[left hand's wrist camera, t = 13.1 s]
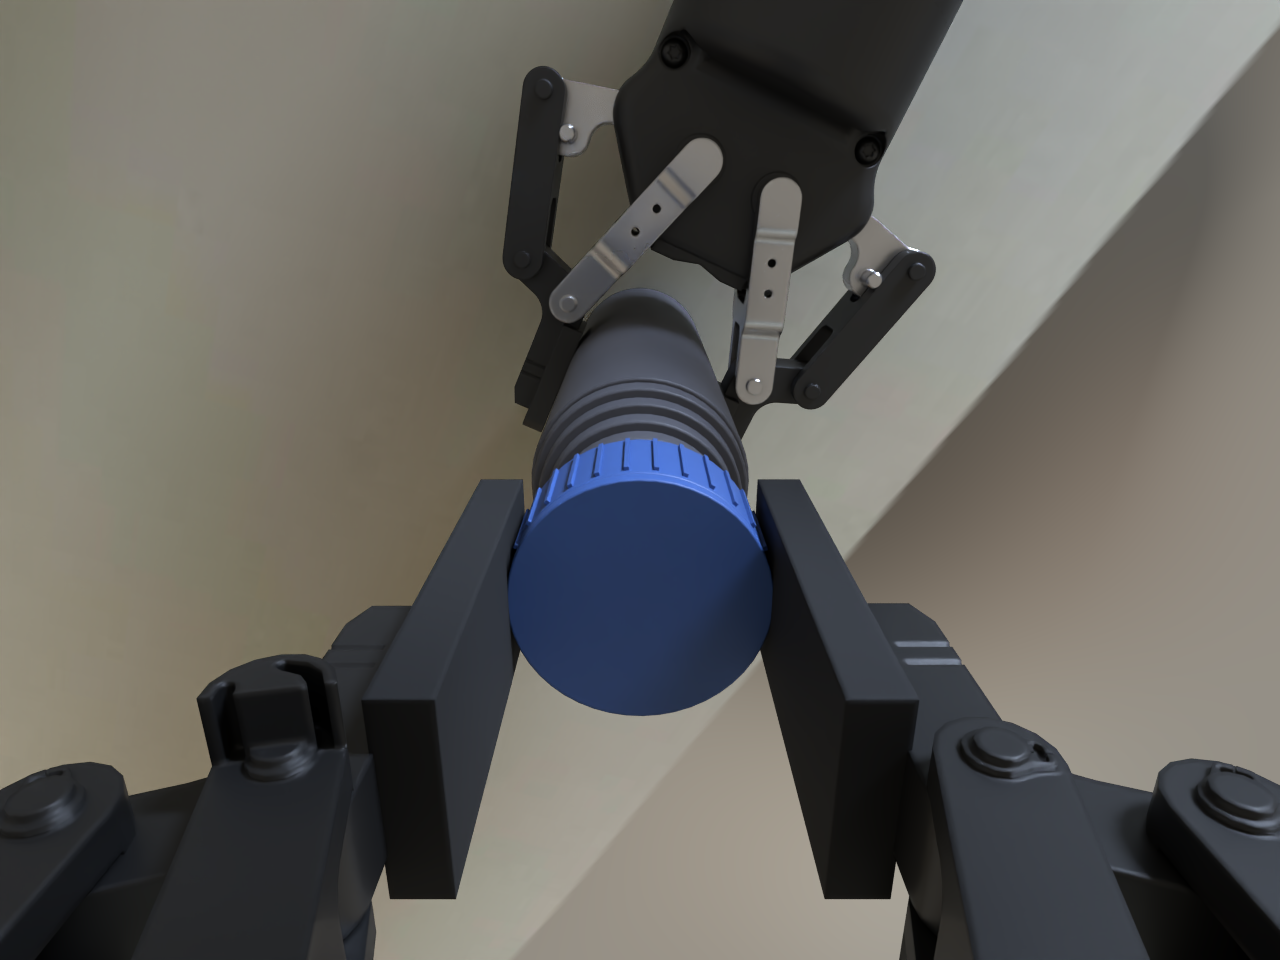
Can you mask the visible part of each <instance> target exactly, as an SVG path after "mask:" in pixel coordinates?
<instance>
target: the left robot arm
mask: <svg viewBox="0 0 1280 960" xmlns="http://www.w3.org/2000/svg"><path fill="white" fill-rule="evenodd" d="M524 515H525V511H524V493H523V480H480V482H479V484H478V486H477V488H476V489H475V491H474V493H473V495H472V497H471V499H470V501H469V502H468V504H467V506H466V508H465V510H464V512H463V513H462V515H461V517H460V519H459V521H458V523H457V524H456V526H455V528H454V530H453V532H452V534H451V535H450V537H449V539H448V541H447V543H446V545H445V546H444V548H443V550H442V552H441V554H440V556H439V557H438V559H437V561H436V563H435V565H434V567H433V569H432V570H431V572H430V574H429V576H428V578H427V580H426V581H425V583H424V585H423V587H422V589H421V591H420V592H419V594H418V596H417V598H416V600H415V602H414V603H413V605H412V606H371V607H370V608H368V609H367V610H366V611H364V612H363V613H361V614H360V615H358V616H357V617H355V618H354V619H353V620H351V621H350V622H348V623H347V624H346V625H345V626H344V628H343V629H342V631H341V632H340V634H339V635H338V637H337V638H336V640H335V641H334V643H333V644H332V648H331V650H328V651H327V653H326V654H325V656H324V657H323V659H321V658H318V657H314V656H310V655H306V654H286V655H276V656H272V657H267V658H262V659H257V660H253V661H251V662H248V663H246V664H243V665H241V666H238V667H236V668H233V669H231V670H229V671H227V672H226V673H224V674H223V675H221V676H220V677H218V678H217V679H215V680H213V681H212V682H210V683H209V684H208V685H207V687H206V688H205V689H204V690H203V691H202V693H201V694H200V695H199V696H198V697H197V703H198V707H199V711H200V716H201V720H202V724H203V729H204V733H205V737H206V742H207V746H208V750H209V755H210V759H211V763H212V768H211V770H210V772H209V775H208V777H207V778H204V779H200V780H197V781H193V782H189V783H186V784H181V785H177V786H172V787H167V788H163V789H158V790H153V791H149V792H144V793H139V794H135V795H130V796H128V792H127V789H126V785H125V781H124V778H123V775H122V774H120V773H119V772H118V771H117V770H116V769H115V768H113V767H112V766H111V765H105V764H99V763H94V762H85V763H75V764H66V765H61V766H57V767H53V768H49V769H48V770H42V771H40V772H37V773H34V774H31V775H29V776H27V777H25V778H23V779H21V780H19V781H17V782H15V783H13V784H11V785H9V786H7V787H5V788H3V789H1V790H0V960H373V957H374V947H375V938H376V927H375V920H374V913H373V907H372V901H371V899H372V897H373V894H374V891H375V889H376V886H377V883H378V881H379V878H380V875H381V873H382V870H383V868H384V865H385V868H386V875H387V882H388V889H389V896H390V899H456V896H457V892H458V889H459V885H460V881H461V877H462V873H463V869H464V865H465V862H466V858H467V854H468V850H469V846H470V842H471V838H472V834H473V831H474V827H475V823H476V819H477V815H478V811H479V807H480V804H481V800H482V796H483V792H484V788H485V784H486V780H487V776H488V773H489V769H490V765H491V761H492V757H493V753H494V749H495V746H496V742H497V738H498V734H499V730H500V726H501V722H502V718H503V715H504V711H505V707H506V703H507V699H508V695H509V691H510V688H511V684H512V680H513V676H514V672H515V668H516V664H517V660H518V657H519V653H520V648H519V646H518V644H517V642H516V640H515V638H514V635H513V632H512V629H511V626H510V618H509V603H508V575H509V572H510V568H511V565H512V562H513V558H514V555H515V553H516V550H517V549H514V548H513V547H514V544H515V541H516V538H517V535H518V532H519V530H520V527H521V524H522V521H523V518H524ZM756 517H757V520H758V522H759V525H760V528H761V531H762V534H763V537H764V539H765V542H766V545H767V548H768V550H767V551H764V552H765V555H766V558H767V560H768V563H769V566H770V569H771V574H772V579H773V595H772V611H771V623H770V627H769V631H768V634H767V636H766V638H765V641H764V643H763V645H762V647H761V649H760V651H761V655H762V658H763V662H764V666H765V670H766V674H767V678H768V682H769V686H770V689H771V693H772V697H773V701H774V705H775V709H776V713H777V716H778V720H779V724H780V728H781V732H782V736H783V740H784V744H785V747H786V751H787V755H788V759H789V763H790V766H791V771H792V774H793V778H794V782H795V786H796V790H797V794H798V798H799V801H800V805H801V809H802V813H803V817H804V821H805V825H806V829H807V832H808V836H809V840H810V844H811V848H812V852H813V856H814V860H815V863H816V867H817V871H818V875H819V879H820V883H821V887H822V890H823V894H824V898H825V899H891V892H892V885H893V878H894V872H895V864H896V862H897V865H898V867H899V870H900V873H901V875H902V878H903V881H904V883H905V886H906V889H907V891H908V894H909V901H908V907H907V914H906V920H905V926H904V933H903V939H902V945H901V952H900V958H899V960H1280V785H1278V784H1276V783H1274V782H1272V781H1270V780H1268V779H1266V778H1264V777H1261V776H1259V775H1257V774H1255V773H1254V772H1252V771H1249V770H1247V769H1244V768H1241V767H1238V766H1233V765H1231V764H1226V763H1222V762H1219V761H1210V760H1200V759H1186V760H1180V761H1175V762H1170V763H1169V764H1168V765H1167V766H1165V767H1164V768H1163V769H1162V770H1161V771H1160V772H1159V773H1158V777H1157V780H1156V784H1155V787H1154V791H1153V793H1152V792H1148V791H1143V790H1138V789H1134V788H1129V787H1124V786H1120V785H1115V784H1110V783H1106V782H1101V781H1096V780H1093V779H1089V778H1085V777H1082V776H1078V775H1075V774H1072V773H1071V771H1070V769H1069V766H1068V765H1067V763H1066V762H1065V760H1064V759H1063V758H1062V756H1061V755H1060V753H1059V752H1058V751H1057V749H1056V748H1055V747H1053V746H1052V745H1051V744H1049V743H1048V742H1047V741H1045V740H1044V739H1043V738H1041V737H1040V736H1039V735H1037V734H1036V733H1033V732H1031V731H1029V730H1027V729H1025V728H1022V727H1020V726H1018V725H1016V724H1014V723H1010V722H1006V721H1002V720H1001V718H1000V717H999V715H998V714H997V712H996V711H995V709H994V708H993V706H992V705H991V703H990V702H989V700H988V699H987V697H986V696H985V695H984V693H983V692H982V690H981V689H980V687H979V686H978V684H977V683H976V681H975V680H974V678H973V677H972V675H971V674H970V672H969V671H968V669H967V668H966V666H965V665H962V664H961V659H960V658H959V656H958V655H957V653H956V652H955V650H954V649H953V647H950V646H949V641H948V640H947V638H946V637H945V635H944V634H943V633H942V631H941V630H940V628H939V627H938V625H937V624H936V622H935V621H933V620H932V619H931V618H929V617H928V616H926V615H925V614H923V613H922V612H920V611H919V610H917V609H916V608H915V607H913V606H912V605H910V604H909V603H867V602H866V601H865V599H864V597H863V595H862V593H861V591H860V590H859V588H858V586H857V584H856V582H855V580H854V579H853V577H852V575H851V573H850V571H849V569H848V568H847V566H846V564H845V562H844V560H843V558H842V556H841V555H840V553H839V551H838V549H837V547H836V545H835V544H834V542H833V540H832V538H831V536H830V534H829V533H828V531H827V529H826V527H825V525H824V523H823V522H822V520H821V518H820V516H819V514H818V512H817V511H816V509H815V507H814V505H813V503H812V501H811V500H810V498H809V496H808V494H807V492H806V490H805V489H804V487H803V485H802V483H801V481H800V480H758V485H757V503H756Z"/></svg>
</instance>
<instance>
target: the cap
mask: <svg viewBox="0 0 1280 960" xmlns="http://www.w3.org/2000/svg"><path fill="white" fill-rule="evenodd" d="M513 548H514V549H517V550H516V553H515V555H514V558H513V562H512V565H511V568H510V572H509V575H508V603H509V618H510V626H511V629H512V632H513V635H514V638H515V640H516V642H517V644H518V646H519V648H520V650H521V652H522V653H523V655H524V656H525V658H526V659H527V661H528V662H529V664H530V665H531V666H532V667H533V668H534V670H535V671H536V672H537V673H538V674H539V675H540V676H541V677H542V678H543V679H544V680H545V681H546V682H547V683H549V684H550V685H551V686H552V687H554V688H555V689H556V690H558V691H559V692H561V693H562V694H564V695H565V696H567V697H569V698H571V699H573V700H575V701H577V702H578V703H581V704H583V705H586V706H589V707H591V708H594V709H597V710H601V711H605V712H609V713H614V714H621V715H632V716H649V715H661V714H666V713H672V712H676V711H680V710H683V709H686V708H690V707H692V706H695V705H697V704H699V703H702V702H704V701H706V700H708V699H710V698H711V697H713V696H715V695H717V694H718V693H720V692H721V691H723V690H724V689H725V688H727V687H728V686H729V685H731V684H732V683H733V682H734V681H735V680H736V679H737V678H738V677H740V676H741V675H742V674H743V673H744V672H745V670H746V669H747V668H748V667H749V665H750V664H751V663H752V662H753V660H754V659H755V657H756V656H757V654H758V652H759V651H760V649H761V647H762V645H763V643H764V641H765V638H766V636H767V634H768V631H769V627H770V623H771V611H772V595H773V579H772V574H771V569H770V566H769V563H768V560H767V558H766V555H765V552H764V551H767V550H768V548H767V545H766V542H765V539H764V537H763V534H762V531H761V528H760V525H759V522H758V520H757V517H756V514H755V511H752V512H751V509H750V506H749V503H748V500H747V497H746V494H745V492H744V490H743V489H741V490H739V488H738V487H737V486H736V484H735V483H734V482H733V481H732V479H731V478H730V475H729V472H728V471H727V470H725V471H723V470H722V469H720V468H719V467H718V466H717V465H716V464H714V463H713V462H712V461H710V460H709V458H708V456H707V455H705V454H704V455H703V456H702V455H700V454H698V453H696V452H694V451H692V450H690V449H687V448H685V447H684V445H683V444H679V445H675V444H672V443H668V442H662V441H658V440H657V439H656V438H653V440H642V439H636V440H630V438H625V440H623V441H618V442H613V443H608V444H605V445H604V444H603V443H601V444H599V445H598V447H596V448H593V449H590V450H588V451H586V452H584V453H582V454H580V455H579V454H578V453H577V454H576V455H574V458H573V459H572V460H571V461H569V462H568V463H566V464H565V465H563V466H562V467H561V468H560V469H559V470H558V469H557V468H556V469H555V470H554V471H553V473H552V477H551V478H550V479H549V480H548V481H547V482H546V484H545V485H544V486H543V487H542V489H541V488H540V487H539V488H538V489H537V491H536V494H535V497H534V500H533V503H532V506H531V509H530V510H529V509H527V510H526V513H525V515H524V518H523V521H522V524H521V527H520V530H519V532H518V535H517V538H516V541H515V544H514V547H513Z"/></svg>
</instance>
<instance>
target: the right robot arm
mask: <svg viewBox="0 0 1280 960" xmlns="http://www.w3.org/2000/svg"><path fill="white" fill-rule="evenodd" d="M962 2H963V0H674V1H673V4H672V6H671V9H670V11H669V14H668V16H667V19H666V21H665V24H664V26H663V29H662V31H661V34H660V36H659V38H658V41H657V43H656V46H655V48H654V50H653V52H652V54H651V56H650V58H649V59H648V60H647V62H646V63H645V64H644V65H643V67H642V68H641V69H640V70H639V71H638V72H637V73H635V74H634V75H633V76H632V77H630V78H629V79H628V80H627V81H626V82H625V83H624V84H623V85H622V87H621V88H620V90H617V89H612V88H607V87H602V86H597V85H592V84H587V83H582V82H577V81H572V80H567V79H564V78H562V77H561V76H560V75H559V73H558V72H557V71H555V70H554V69H552V68H550V67H547V66H539V67H536V68H534V69H532V70H531V71H530V72H529V73H528V74H527V75H526V77H525V79H524V82H523V89H522V97H521V106H520V114H519V123H518V131H517V139H516V148H515V156H514V165H513V173H512V182H511V190H510V198H509V207H508V215H507V224H506V232H505V241H504V249H503V264H504V267H505V269H506V271H507V272H508V273H509V274H510V275H511V276H513V277H514V278H517V279H519V280H520V281H522V282H523V283H524V284H525V285H526V286H527V287H528V288H529V289H530V290H531V291H532V292H533V293H534V294H535V295H536V296H537V297H538V299H539V301H540V303H541V306H542V319H541V322H540V325H539V327H538V330H537V332H536V335H535V337H534V340H533V342H532V345H531V347H530V350H529V352H528V355H527V357H526V360H525V362H524V365H523V367H522V370H521V372H520V375H519V377H518V380H517V382H516V385H515V403H517V404H519V405H522V406H524V407H526V408H529V409H528V412H527V414H526V416H525V419H524V421H523V425H525V426H528V427H530V428H532V429H535V430H537V431H539V432H542V430H543V428H544V425H545V423H546V420H547V418H548V416H549V413H550V411H551V409H552V406H553V404H554V401H555V399H556V397H557V394H558V392H559V390H560V387H561V385H562V382H563V380H564V377H565V375H566V372H567V370H568V367H569V365H570V362H571V360H572V358H573V356H574V354H575V352H576V349H577V347H578V345H579V342H580V340H581V337H582V335H583V333H584V330H585V327H586V325H587V322H585V321H583V318H584V316H585V314H586V313H587V312H588V311H589V310H590V309H591V308H592V306H593V305H594V304H595V303H596V302H597V301H598V300H599V299H600V298H601V297H602V296H603V295H604V294H605V293H606V292H607V290H608V289H609V288H610V287H611V286H612V285H613V284H614V283H615V282H616V281H617V280H618V279H619V278H620V277H621V276H622V275H623V274H624V273H625V272H626V271H627V270H628V269H629V268H630V267H631V266H632V265H633V264H634V263H635V262H636V261H637V260H638V259H639V258H640V257H641V256H642V255H643V253H644V252H645V251H646V250H647V249H648V248H649V247H651V250H653V251H655V252H657V253H660V254H662V255H664V256H666V257H668V258H670V259H673V260H677V261H683V262H689V263H695V264H699V265H701V266H702V267H703V268H705V269H706V270H707V271H708V272H709V273H710V274H712V275H713V276H714V277H715V278H716V279H717V280H719V281H720V282H722V283H724V284H726V285H728V286H731V287H733V288H735V292H734V301H733V327H732V336H731V345H730V355H729V364H728V370H727V372H726V374H725V376H724V378H723V380H722V383H720V382H718V381H717V382H718V384H719V387H720V389H721V392H722V394H723V397H724V399H725V402H726V404H727V407H728V409H729V412H730V414H731V417H732V419H733V422H734V424H735V427H736V429H737V432H738V434H739V437H740V439H742V437H743V435H744V433H745V431H746V429H747V427H748V425H749V423H750V422H751V420H752V418H753V416H754V414H755V413H756V411H757V410H758V409H760V408H761V407H762V406H764V405H766V404H769V403H791V404H798V405H799V406H801V407H802V408H805V409H816V408H819V407H821V406H822V405H824V404H825V403H826V402H827V400H828V399H829V398H830V397H831V396H832V395H833V394H834V392H835V391H836V390H837V389H838V388H839V387H840V386H841V385H842V383H843V382H844V381H845V380H846V379H847V378H848V377H849V375H850V374H851V373H852V372H853V371H854V370H855V369H856V367H857V366H858V365H859V364H860V363H861V362H862V361H863V360H864V358H865V357H866V356H867V355H868V354H869V353H870V352H871V350H872V349H873V348H874V347H875V346H876V345H877V344H878V342H879V341H880V340H881V339H882V338H883V337H884V336H885V335H886V333H887V332H888V331H889V330H890V329H891V328H892V327H893V325H894V324H895V323H896V322H897V321H898V320H899V319H900V317H901V316H902V315H903V314H904V313H905V312H906V311H907V310H908V308H909V307H910V306H911V305H912V304H913V303H914V302H915V300H916V299H917V298H918V297H919V296H920V295H921V294H922V292H923V291H924V290H925V289H926V288H927V287H928V286H929V285H930V283H931V282H932V280H933V279H934V276H935V272H936V267H935V262H934V260H933V259H932V257H931V256H930V255H928V254H927V253H924V252H921V251H919V250H916V249H912V248H909V247H907V246H906V245H905V244H904V243H903V242H902V241H901V240H899V239H898V238H897V237H896V236H895V235H894V234H893V233H892V232H890V231H889V230H888V229H887V228H886V227H885V226H884V225H883V224H881V223H880V222H879V221H878V220H877V219H876V218H875V217H874V216H872V215H871V214H872V211H873V206H874V183H875V177H876V173H877V169H878V166H879V164H880V162H881V160H882V157H883V156H884V154H885V152H886V150H887V148H888V146H889V144H890V142H891V140H892V138H893V137H894V135H895V133H896V131H897V129H898V127H899V125H900V123H901V121H902V119H903V117H904V115H905V113H906V111H907V109H908V107H909V105H910V103H911V101H912V99H913V97H914V96H915V94H916V92H917V90H918V88H919V86H920V84H921V82H922V80H923V78H924V76H925V74H926V72H927V70H928V68H929V66H930V64H931V62H932V60H933V58H934V56H935V55H936V53H937V51H938V49H939V47H940V45H941V43H942V41H943V39H944V37H945V35H946V33H947V31H948V29H949V27H950V25H951V23H952V21H953V19H954V17H955V15H956V13H957V11H958V9H959V7H960V6H961V4H962ZM604 125H614V128H615V133H616V138H617V143H618V148H619V153H620V158H621V163H622V168H623V173H624V178H625V183H626V187H627V192H628V197H629V202H630V206H629V207H628V209H627V210H626V211H625V212H624V213H623V214H622V215H621V216H620V217H619V218H618V219H617V221H616V222H615V223H614V224H613V225H612V226H611V227H610V228H609V229H608V230H607V232H606V233H605V234H604V235H603V236H602V237H601V238H600V239H599V240H598V241H597V243H596V244H595V245H594V246H593V247H592V248H591V249H590V250H589V251H588V252H587V254H586V255H585V256H584V257H583V258H582V259H581V260H580V261H579V262H578V263H577V264H576V266H575V267H574V268H573V269H571V268H570V267H569V266H568V265H567V264H566V263H565V262H564V261H563V260H562V259H561V258H560V257H559V256H558V255H557V254H556V253H555V252H554V251H553V250H551V247H552V239H553V232H554V225H555V218H556V211H557V203H558V196H559V189H560V182H561V175H562V167H563V160H564V156H566V157H576V156H579V155H581V154H582V153H584V152H585V151H586V149H587V148H588V146H589V143H590V140H591V137H592V135H593V133H594V132H595V131H596V130H597V129H598V128H600V127H602V126H604ZM633 228H636V229H637V230H633ZM847 241H848V242H849V244H850V247H851V257H850V260H849V262H848V264H847V265H846V267H845V269H844V272H843V282H844V285H845V287H846V288H847V289H848V291H847V292H846V293H845V295H844V296H843V297H842V298H841V299H840V300H839V302H838V303H837V304H836V305H835V306H834V308H833V309H832V310H831V311H830V312H829V313H828V315H827V316H826V317H825V318H824V319H823V321H822V322H821V323H820V324H819V325H818V326H817V328H816V329H815V330H814V331H813V332H812V334H811V335H810V336H809V337H808V338H807V339H806V341H805V342H804V343H803V344H802V345H801V347H800V348H799V349H798V350H797V351H796V352H795V354H794V355H793V356H792V357H791V358H790V359H780V358H777V351H778V343H779V337H780V334H781V333H782V330H783V326H784V320H785V313H786V305H787V298H788V290H789V282H790V275H791V273H793V272H794V271H796V270H798V269H800V268H801V267H803V266H805V265H807V264H808V263H810V262H812V261H814V260H815V259H817V258H819V257H821V256H822V255H824V254H826V253H828V252H829V251H831V250H833V249H835V248H836V247H838V246H840V245H842V244H843V243H845V242H847Z"/></svg>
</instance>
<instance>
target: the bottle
mask: <svg viewBox="0 0 1280 960" xmlns="http://www.w3.org/2000/svg"><path fill="white" fill-rule="evenodd" d="M625 438H630V440H636V439H642V440H653V438H656V439H657V440H658V441H662V442H668V443H672V444H675V445H679V444H683V445H684V447H685V448H687V449H690V450H692V451H694V452H696V453H698V454H700V455H702V456H703V455H704V454H705V455H707V456H708V458H709V460H710V461H712V462H713V463H714V464H716V465H717V466H718V467H719V468H720V469H722V470H723V471H725V470H727V471H728V472H729V475H730V478H731V479H732V481H733V482H734V483H735V484H736V486H737V487H738V488H739V490H741V489H743V490H744V492H745V494H746V497H747V493H748V482H749V477H748V464H747V459H746V454H745V451H744V448H743V445H742V442H741V439H740V437H739V434H738V432H737V429H736V427H735V424H734V422H733V419H732V417H731V414H730V412H729V409H728V407H727V404H726V402H725V399H724V397H723V394H722V392H721V389H720V387H719V384H718V382H717V379H716V377H715V374H714V372H713V369H712V367H711V364H710V362H709V359H708V357H707V354H706V352H705V349H704V347H703V344H702V342H701V339H700V337H699V334H698V332H697V329H696V327H695V324H694V322H693V320H692V318H691V316H690V315H689V314H688V312H687V311H686V310H685V308H684V307H683V306H682V305H681V304H680V303H678V302H677V301H676V300H675V299H673V298H672V297H670V296H669V295H666V294H664V293H662V292H659V291H656V290H652V289H646V288H635V289H628V290H624V291H621V292H618V293H615V294H614V295H612V296H610V297H608V298H607V299H605V300H604V301H603V302H601V303H600V304H599V305H598V306H597V307H596V308H595V310H594V311H593V312H592V313H591V315H590V317H589V318H588V320H587V325H586V327H585V330H584V333H583V335H582V337H581V340H580V342H579V345H578V347H577V349H576V352H575V354H574V356H573V358H572V360H571V362H570V365H569V367H568V370H567V372H566V375H565V377H564V380H563V382H562V385H561V387H560V390H559V392H558V395H557V397H556V400H555V402H554V405H553V407H552V410H551V412H550V415H549V417H548V420H547V422H546V425H545V428H544V430H543V433H542V435H541V438H540V440H539V443H538V445H537V448H536V452H535V456H534V459H533V467H532V490H533V500H534V497H535V494H536V491H537V489H538V488H539V487H540V488H541V489H542V487H543V486H544V485H545V484H546V482H547V481H548V480H549V479H550V478H551V477H552V473H553V471H554V470H555V469H556V468H557V469H558V470H559V469H560V468H561V467H562V466H563V465H565V464H566V463H568V462H569V461H571V460H572V459H573V458H574V455H576V454H577V453H578V454H579V455H580V454H582V453H584V452H586V451H588V450H590V449H593V448H596V447H598V445H599V444H601V443H603V444H604V445H605V444H608V443H613V442H618V441H623V440H625Z"/></svg>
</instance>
